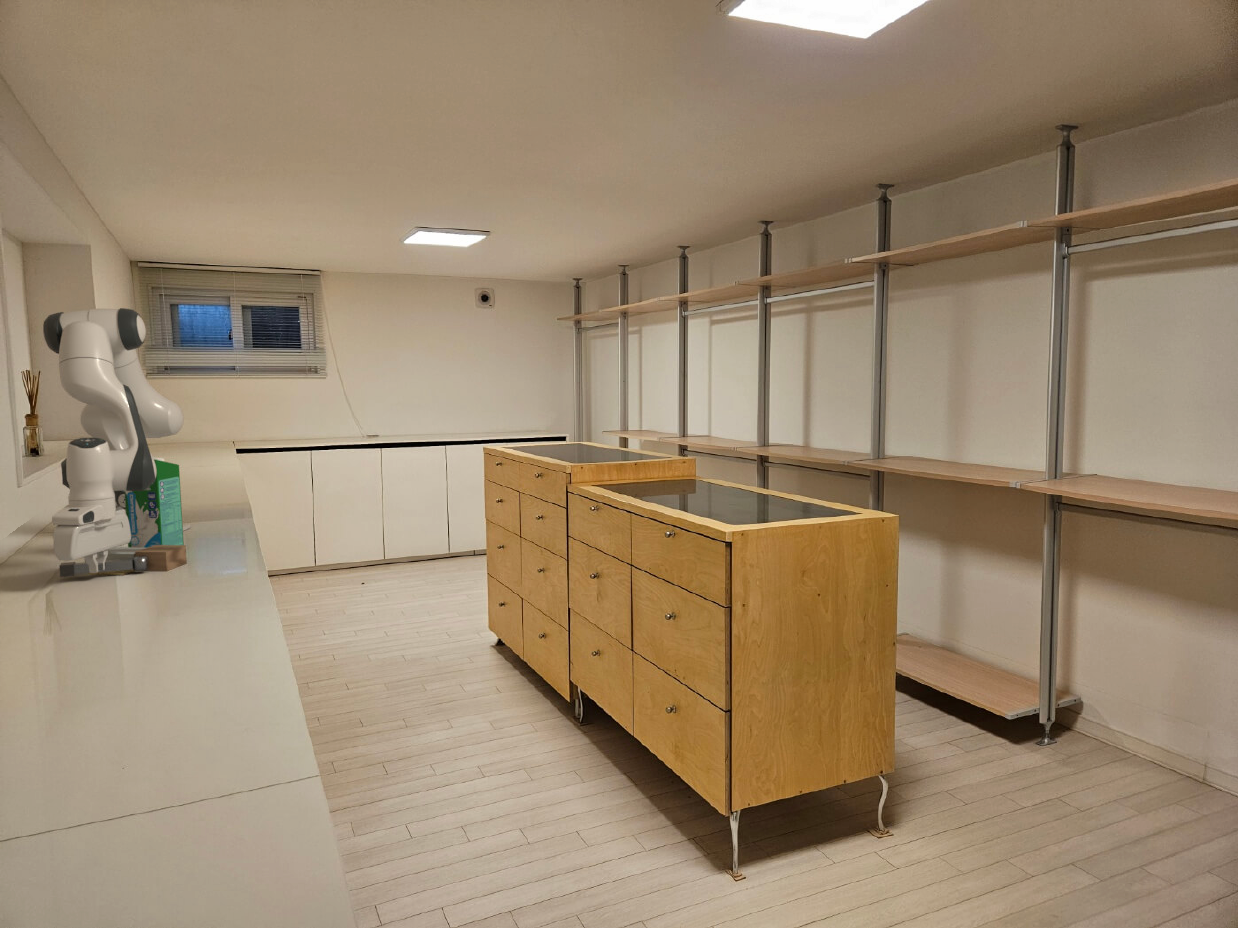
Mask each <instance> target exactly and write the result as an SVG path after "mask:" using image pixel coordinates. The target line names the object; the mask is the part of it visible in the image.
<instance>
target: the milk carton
mask: <svg viewBox="0 0 1238 928" xmlns="http://www.w3.org/2000/svg"><path fill="white" fill-rule="evenodd" d="M153 459H154V461H155V464H156V470H157V474H156V479H155V482H154V483H153V484H152V485H150V486H149V487H148V488H147V489H145V490H143V491H127V490H125V506H126V515H127V517H128V520H129V525H130V531H131V540H130V542H129V543H128V544H127V547H132V548H148V547H151V546H154V545H185V544H184V531H183V524H184V523H183V513H182V512H183V511H182V510H183V509H182V508H183V507H182V494H181V477H180V464H178V463H173V462H168V461H165V458H163V457H155V456H154V457H153ZM182 523H183V524H182Z"/></svg>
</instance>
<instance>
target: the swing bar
mask: <svg viewBox="0 0 1238 928" xmlns="http://www.w3.org/2000/svg"><path fill="white" fill-rule="evenodd" d="M132 569H133V571H134V572H144V571H143V570H147V569H148V557H147V556H146V555H141V556H135V557H133V558H131V559H119V560H107V561H105V570H103V571H100V572H109V571H120V570H132ZM86 573H90V572H89V565H88V564H87V563H86V562H85V561H84V562H76V561H68V562H62V563H60V564H59V577H60V578H65V577H74V576H76V575H84V574H86ZM97 573H98V572H97Z"/></svg>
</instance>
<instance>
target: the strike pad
mask: <svg viewBox="0 0 1238 928" xmlns="http://www.w3.org/2000/svg"><path fill="white" fill-rule="evenodd" d="M134 572H135V571H133V569H132V570H120V571H109V572H98V573H86V574H83V575H91V576H93V575H94V576H97V575H99V576H104V575H105V576H126V575H129V574H131V573H134Z"/></svg>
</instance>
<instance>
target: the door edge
mask: <svg viewBox="0 0 1238 928" xmlns="http://www.w3.org/2000/svg"><path fill="white" fill-rule="evenodd" d="M141 555H146V556H147V557H148V569H147V570H143V571H142V572H169V571H171V570H173V569H174V570H175V569H176V568H179V567H181V566H184V565H186V564H187V562H188V560H187V559H188V558H187V545H186V544H184V545H154V546H151V547H148V548H132V547H128V546H126V547H125V546H123V547H121V546H118V547H115V548H111V549H108V555H107V558H106V561H107V560H119V559H131V558H133V557H135V556H141ZM84 562H86V561H85V560H84Z"/></svg>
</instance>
